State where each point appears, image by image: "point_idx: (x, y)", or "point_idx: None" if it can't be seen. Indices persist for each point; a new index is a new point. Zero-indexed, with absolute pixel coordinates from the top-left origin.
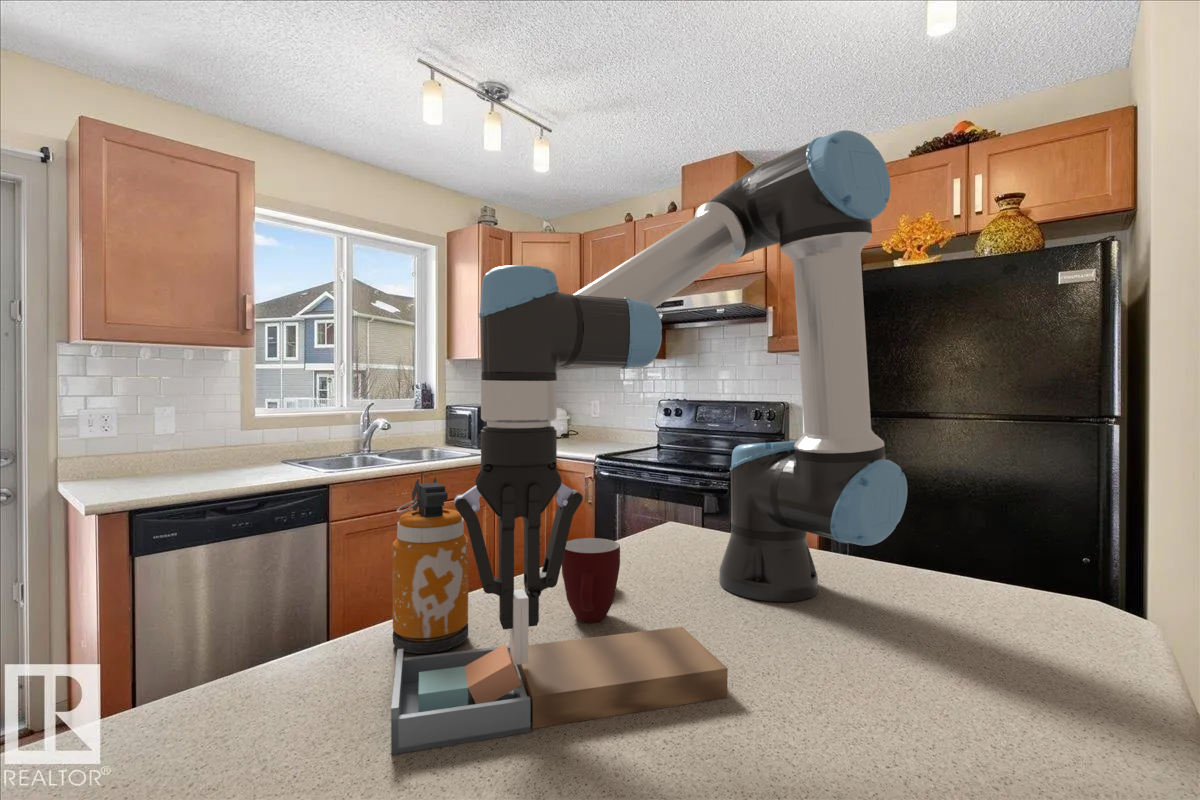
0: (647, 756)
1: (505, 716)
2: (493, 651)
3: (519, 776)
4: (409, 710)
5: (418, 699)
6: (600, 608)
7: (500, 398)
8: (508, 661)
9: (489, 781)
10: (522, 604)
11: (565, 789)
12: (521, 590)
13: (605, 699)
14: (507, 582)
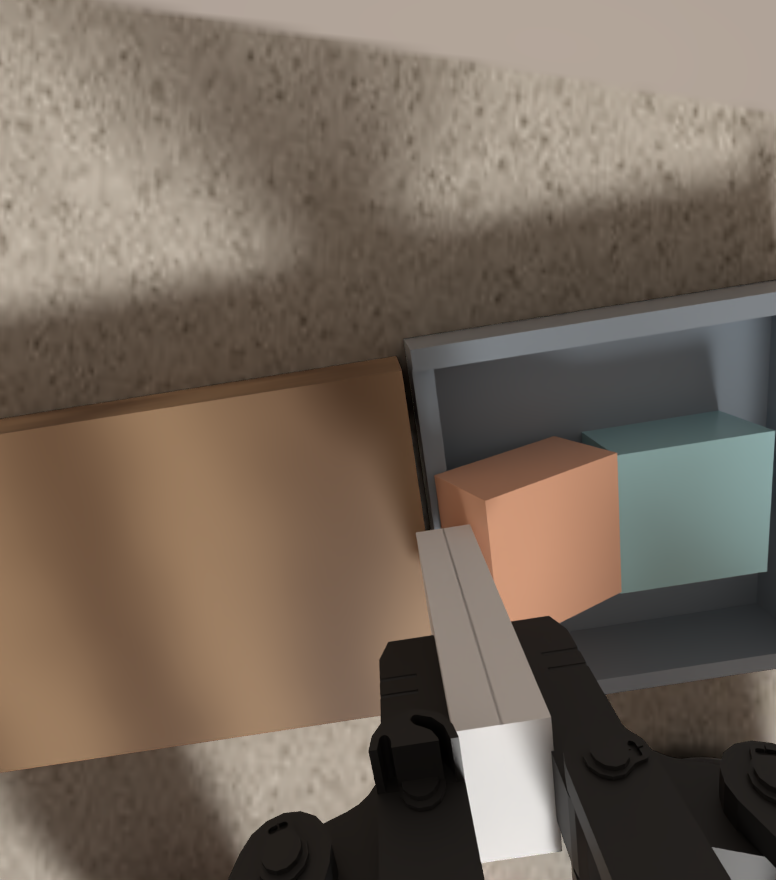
0: (60, 169)
1: (486, 332)
2: None
3: (439, 125)
4: None
5: None
6: None
7: None
8: (495, 518)
9: (522, 113)
10: (485, 694)
11: (311, 39)
12: (490, 844)
13: (160, 401)
14: (650, 831)
